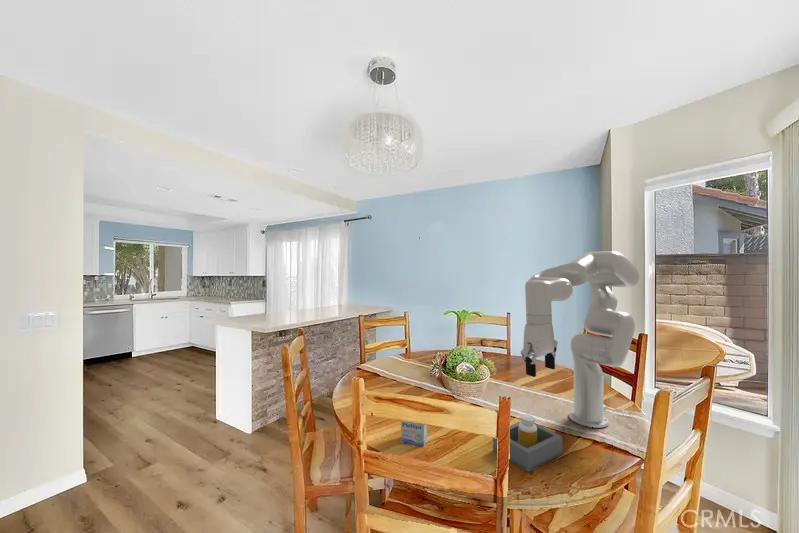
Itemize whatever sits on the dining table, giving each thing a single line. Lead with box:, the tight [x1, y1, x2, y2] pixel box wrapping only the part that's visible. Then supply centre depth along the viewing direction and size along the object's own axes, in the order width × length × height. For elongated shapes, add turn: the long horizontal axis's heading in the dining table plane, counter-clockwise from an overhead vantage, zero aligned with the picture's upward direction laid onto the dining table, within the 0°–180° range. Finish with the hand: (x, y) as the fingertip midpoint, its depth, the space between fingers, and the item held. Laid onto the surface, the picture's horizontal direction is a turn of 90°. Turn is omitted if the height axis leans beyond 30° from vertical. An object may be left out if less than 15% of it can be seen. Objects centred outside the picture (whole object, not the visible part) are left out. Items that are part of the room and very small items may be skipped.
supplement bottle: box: [519, 414, 537, 448], centre depth 102 cm, size 5×5×10 cm
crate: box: [492, 420, 563, 473], centre depth 102 cm, size 16×13×6 cm
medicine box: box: [400, 420, 428, 447], centre depth 109 cm, size 8×4×9 cm, turn 73°
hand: (540, 371), depth 106 cm, fingers open, 9 cm apart
